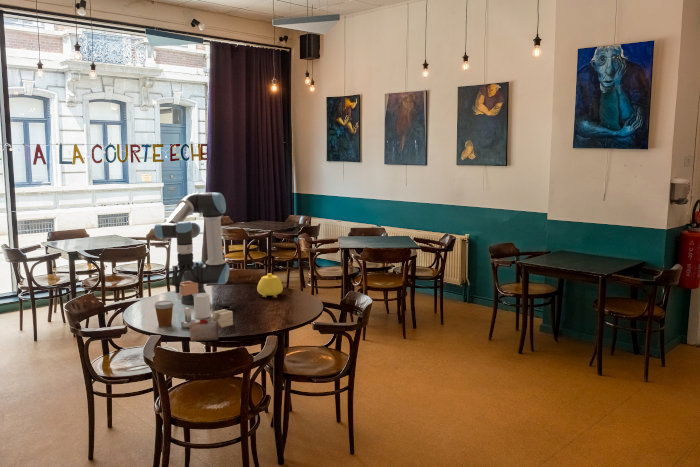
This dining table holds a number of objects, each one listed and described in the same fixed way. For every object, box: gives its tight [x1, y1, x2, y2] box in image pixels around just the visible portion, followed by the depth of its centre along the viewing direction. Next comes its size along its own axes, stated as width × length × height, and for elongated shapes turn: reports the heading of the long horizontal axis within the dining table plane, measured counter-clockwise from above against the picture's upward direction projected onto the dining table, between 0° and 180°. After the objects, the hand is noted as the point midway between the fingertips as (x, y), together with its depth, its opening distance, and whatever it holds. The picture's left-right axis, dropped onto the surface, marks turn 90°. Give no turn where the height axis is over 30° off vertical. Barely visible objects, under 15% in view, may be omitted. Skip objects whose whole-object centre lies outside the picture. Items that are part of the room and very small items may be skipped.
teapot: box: [256, 272, 284, 298], centre depth 373 cm, size 20×16×14 cm
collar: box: [174, 281, 198, 296], centre depth 304 cm, size 8×8×5 cm
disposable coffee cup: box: [153, 300, 175, 328], centre depth 310 cm, size 10×10×12 cm
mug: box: [193, 292, 211, 320], centre depth 328 cm, size 12×8×12 cm
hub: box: [180, 307, 196, 330], centre depth 307 cm, size 7×7×10 cm
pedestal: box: [212, 308, 234, 329], centre depth 311 cm, size 7×7×7 cm
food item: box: [189, 318, 220, 342], centre depth 288 cm, size 14×8×10 cm, turn 98°
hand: (187, 297), depth 305 cm, fingers closed on collar, 8 cm apart
